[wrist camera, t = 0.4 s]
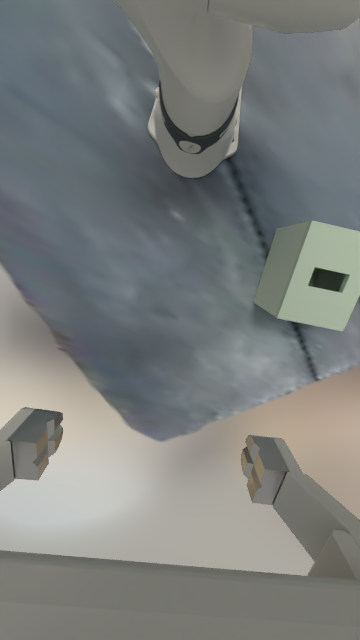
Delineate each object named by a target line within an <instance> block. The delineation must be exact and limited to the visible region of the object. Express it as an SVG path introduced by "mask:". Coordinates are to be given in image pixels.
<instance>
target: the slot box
mask: <svg viewBox="0 0 360 640" xmlns="http://www.w3.org/2000/svg"><path fill="white" fill-rule="evenodd" d="M359 296H360V232H359V231H355V230H351V229H346V228H342V227H338V226H333V225H329V224H325V223H321V222H316V221H308V222H304V223H299V224H295V225H291V226H286V227H282V228H278V229H276V232H275V235H274V238H273V242H272V245H271V248H270V251H269V254H268V257H267V261H266V264H265V267H264V270H263V273H262V276H261V280H260V283H259V286H258V289H257V292H256V296H255V299H254V303H255V304H257V305H258V306H260V307H261V308H263V309H264V310H266V311H267V312H269V313H270V314H272V315H273V316H275V317H276V318H278V319H283V320H288V321H293V322H298V323H303V324H308V325H313V326H318V327H324V328H329V329H334V330H339V331H343V330H344V328H345V326H346V324H347V322H348V320H349V317H350V315H351V313H352V311H353V309H354V307H355V304H356V302H357V300H358V298H359Z"/></svg>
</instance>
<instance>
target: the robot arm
mask: <svg viewBox="0 0 360 640" xmlns="http://www.w3.org/2000/svg"><path fill="white" fill-rule="evenodd" d="M114 1H115V2H116V3H117V4H118V5H119V6H120V8H121V9H122V10H123V11H124V12H125V14H126V15H127V16H128V18H129V19H130V20H131V22H132V23H133V24H134V26H135V27H136V28H137V30H138V31H139V33H140V34H141V36H142V37H143V39H144V40H145V42H146V43H147V45H148V46H149V48H150V50H151V51H152V53H153V55H154V57H155V59H156V61H157V65H158V70H159V78H160V83H159V87H157V88H156V92H155V97H156V99H155V103H154V106H153V109H152V113H151V116H150V119H149V123H148V131H149V134H150V135H151V137H152V138H153V139H154V140H155V141H156V142H157V144H158V146H159V148H160V151H161V154H162V156H163V158H164V160H165V162H166V163H167V165H168V166H169V167H170V168H171V169H172V170H173V171H174V172H176V173H177V174H179V175H181V176H183V177H187V178H198V177H202V176H204V175H207V174H208V173H210V172H211V171H212V170H214V169H215V168H216V167H217V166H218V164H219V163H220V162H221V161H222V160H224V159H226V158H228V157H230V156H232V155H233V154H235V152H236V150H237V147H238V134H239V120H240V107H241V93H242V84H243V82H244V79H245V76H246V74H247V71H248V68H249V65H250V61H251V55H252V45H253V34H252V25H253V26H257V27H260V28H264V29H268V30H272V31H276V32H280V33H283V34H292V33H313V32H323V31H332V30H341V29H344V28H346V27H348V26H349V25H350V24H352V23H353V22H354V21H355V20H357V19H358V18H359V17H360V0H114ZM232 140H233V141H234V142H232ZM62 420H63V414H62V413H61V412H56V411H49V410H42V409H33V408H27V407H25V408H22V409H21V410H20V411H19V412H18V413H17V414H16V415H15V416H14V417H13V418H12V419H11V420H10V421H9V422H8V423H7V424H6V425H5V426H4V427H3V428H2V429H1V430H0V491H1V490H2V489H3V488H5V487H6V486H7V485H8V484H10V483H11V482H12V481H14V479H27V480H39V478H40V477H41V475H42V473H43V472H44V470H45V468H46V467H47V465H48V464H49V463H48V462H49V461H48V457H50V456H51V455H53V454H54V453H55V452H56V450H57V448H58V447H59V444H60V442H61V439H62V434H63V428H62V426H61V425H60V423H61V421H62ZM246 444H247V447H246V448H244V449H243V451H242V454H241V465H242V470H243V474H244V475H245V476H246V477H247V478H248V479H249V480H248V483H247V487H248V490H249V493H250V497H251V500H252V502H253V503H261V504H268V505H273V508H274V509H275V510H276V511H277V513H278V514H279V515H280V517H281V518H282V519H283V521H284V522H285V523H286V525H287V526H288V527H289V528H290V530H291V531H292V533H293V534H294V535H295V536H296V538H297V539H298V540H299V542H300V543H301V544H302V545H303V547H304V548H305V550H306V551H307V552H308V553H309V555H310V556H311V557H312V559H313V560H314V561H315V563H314V564H313V566H312V568H311V570H310V571H309V573H308V576H301V575H288V574H276V573H264V572H253V571H241V570H228V569H217V568H205V567H193V566H182V565H169V564H157V563H146V562H134V561H122V560H109V559H98V558H86V557H73V556H61V555H50V554H37V553H26V552H14V551H1V550H0V640H360V520H359V519H357V517H355V516H354V515H353V514H352V513H351V512H349V510H347V509H346V508H345V507H344V506H343V505H342V504H341V503H339V502H338V501H337V500H336V499H335V498H333V497H332V496H331V495H330V494H329V493H328V492H327V491H325V490H324V489H323V488H322V487H321V486H320V485H318V484H317V483H316V482H315V481H314V480H313V479H312V478H310V477H309V476H308V475H306V474H303V472H302V471H301V469H300V467H299V465H298V464H297V462H296V460H295V459H294V457H293V455H292V453H291V451H290V450H289V448H288V446H287V444H286V443H285V441H284V440H283V439H282V438H272V437H271V438H270V437H263V436H254V435H249V436H248V437H247V439H246Z"/></svg>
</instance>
